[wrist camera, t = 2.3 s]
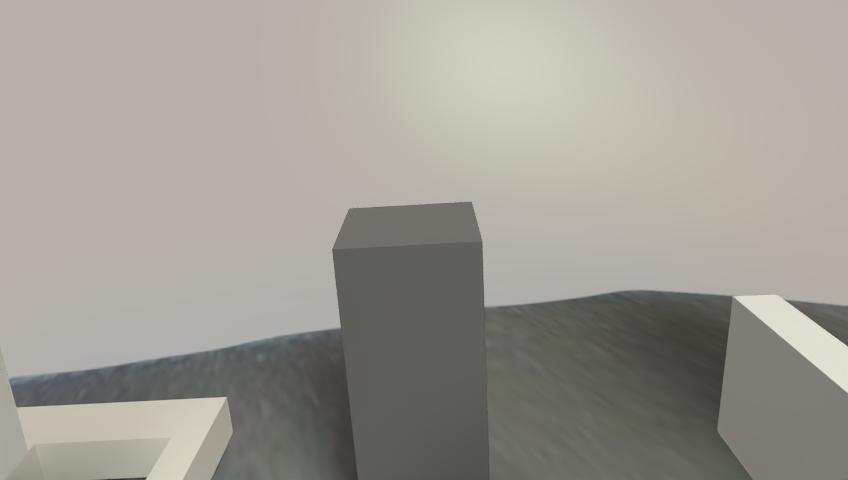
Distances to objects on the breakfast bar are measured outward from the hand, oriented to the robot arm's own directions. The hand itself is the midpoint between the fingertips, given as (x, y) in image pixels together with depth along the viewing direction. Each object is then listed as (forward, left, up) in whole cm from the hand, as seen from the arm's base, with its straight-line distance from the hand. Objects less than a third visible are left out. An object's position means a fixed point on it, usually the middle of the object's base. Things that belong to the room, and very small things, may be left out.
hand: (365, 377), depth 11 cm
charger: (-1, -10, -12) cm, 16 cm away
